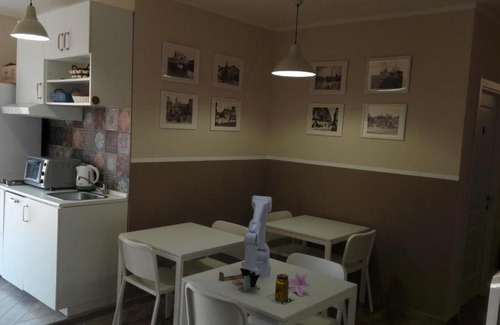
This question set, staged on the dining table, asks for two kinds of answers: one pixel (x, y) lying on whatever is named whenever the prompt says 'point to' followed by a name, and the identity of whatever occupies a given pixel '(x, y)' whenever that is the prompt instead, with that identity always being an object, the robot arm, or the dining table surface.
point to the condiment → (282, 289)
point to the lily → (299, 283)
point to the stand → (249, 289)
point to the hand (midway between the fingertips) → (249, 284)
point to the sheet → (247, 283)
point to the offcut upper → (238, 282)
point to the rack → (229, 277)
